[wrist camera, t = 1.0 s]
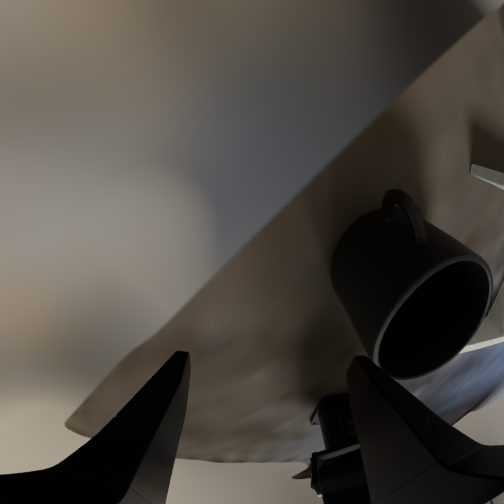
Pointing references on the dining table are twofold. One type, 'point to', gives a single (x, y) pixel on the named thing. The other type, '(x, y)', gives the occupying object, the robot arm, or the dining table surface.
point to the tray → (500, 315)
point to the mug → (409, 289)
